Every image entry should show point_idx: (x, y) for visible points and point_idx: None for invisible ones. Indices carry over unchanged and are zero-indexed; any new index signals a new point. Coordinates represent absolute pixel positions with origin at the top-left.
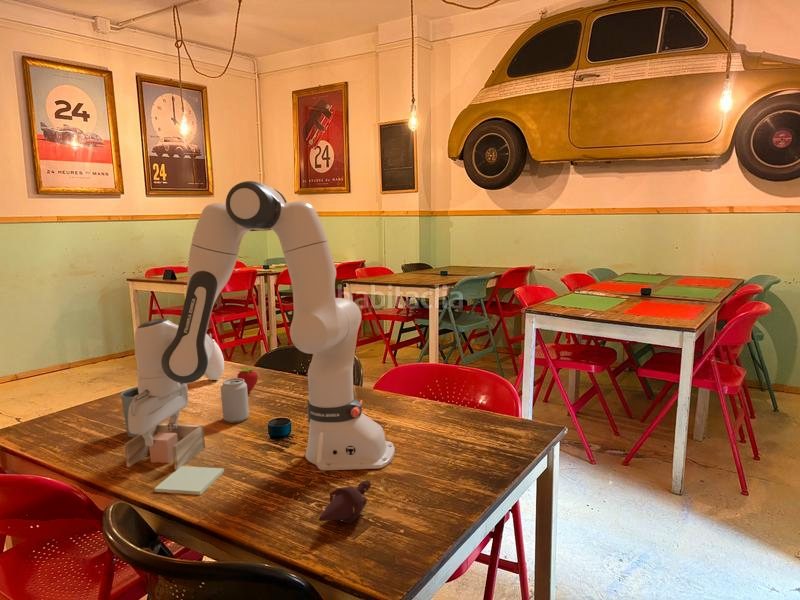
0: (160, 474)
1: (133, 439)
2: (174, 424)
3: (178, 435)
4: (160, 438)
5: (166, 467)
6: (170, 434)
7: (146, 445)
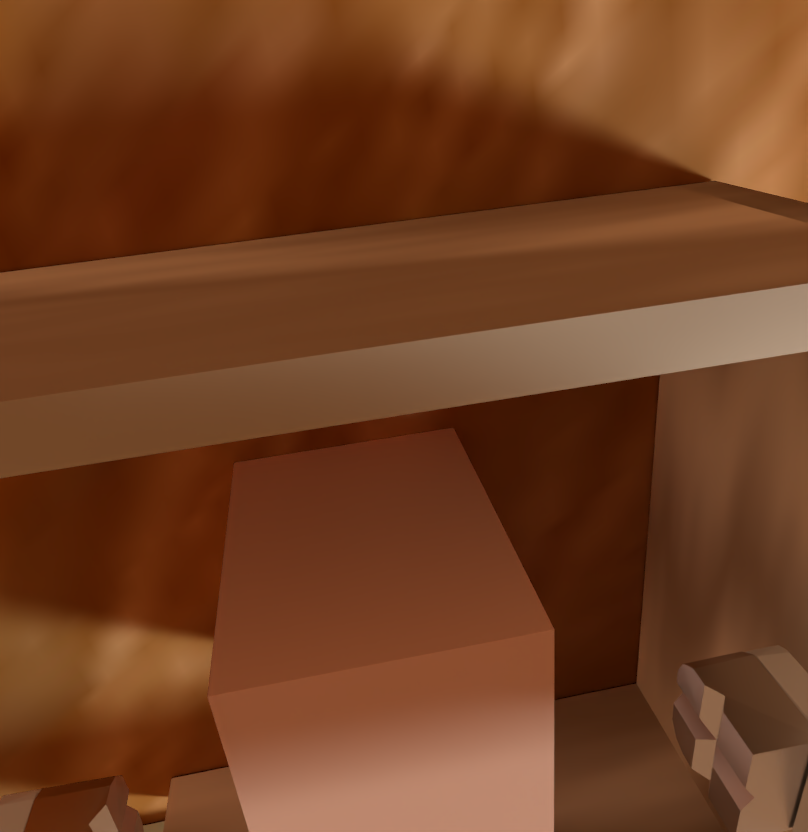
0: (35, 739)
1: (69, 446)
2: (753, 827)
3: (733, 589)
4: (315, 815)
5: (185, 688)
6: (497, 822)
7: (8, 801)
